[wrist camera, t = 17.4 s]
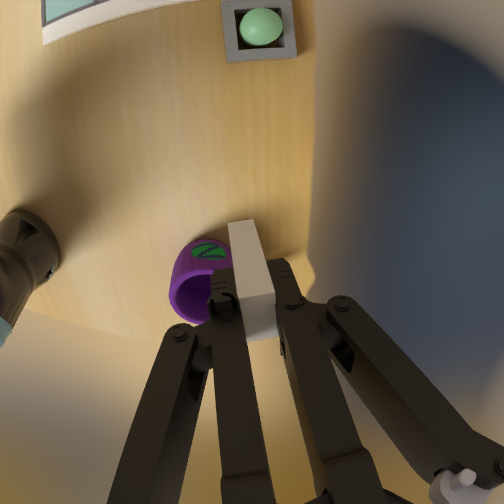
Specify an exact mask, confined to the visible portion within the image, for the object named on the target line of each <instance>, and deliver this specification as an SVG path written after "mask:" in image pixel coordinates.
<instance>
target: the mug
mask: <svg viewBox="0 0 504 504" xmlns="http://www.w3.org/2000/svg"><path fill="white" fill-rule="evenodd" d="M229 267H233V260H232V253H231V250H230V248H228V247H227V246H226V245H225V244H223V243H221V242H218V241H216V240H210V239H203V240H198V241H194V242H192V243H190V244H189V245H187V246H186V247H185V248H184V249H183V250H182V251H181V252H180V254H179V256H178V258H177V260H176V262H175V264H174V268H173V272H172V277H171V283H170V290H169V300H170V304H171V305H172V307H173V309H174V311H175V312H176V313H177V314H178V315H179V316H180V317H182V318H183V319H185V320H187V321H189V322H192V323H195V324H202V323H204V322H205V321H207V320H208V319H209V317H210V315H209V311H208V308H207V304H206V303H207V299H208V298H209V297H210V296H211V275H212V273H213V271H214V270H216V269H222V268H229Z"/></svg>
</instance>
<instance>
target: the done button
mask: <svg viewBox="0 0 504 504" xmlns="http://www.w3.org/2000/svg"><path fill="white" fill-rule="evenodd" d="M282 29H283V24H282V20H281V18H280V17H279V15H278V14H277V13H275V12H274V11H272V10H270V9H267V8H256V9H253V10H251V11H249V12H248V13H247V14H246V15H245V16H244V17H243V19H242V21H241V23H240V25H239V29H238V32H239V36H240V38H241V40H242V41H243V42H244V43H246V44H247V45H249V46H253V47H262V46H265V45H267V44H269V43H271V42H272V41H274V40H276V39H277V38H278V37H279V36H280V34H281V32H282Z"/></svg>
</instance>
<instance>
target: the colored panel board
mask: <svg viewBox="0 0 504 504" xmlns="http://www.w3.org/2000/svg"><path fill="white" fill-rule="evenodd" d="M192 1H199V0H41V19H42V36H43V46H47V45H49V44H51V43H53V42H56V41H58V40H60V39H63V38H65V37H67V36H70V35H72V34H75V33H77V32H80V31H82V30H85V29H88V28H90V27H93V26H96V25H99V24H102V23H105V22H108V21H111V20H114V19H117V18H121V17H124V16H128V15H131V14H135V13H139V12H143V11H147V10H151V9H155V8H160V7H165V6H170V5H175V4H180V3H186V2H192Z"/></svg>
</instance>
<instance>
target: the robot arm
mask: <svg viewBox="0 0 504 504" xmlns="http://www.w3.org/2000/svg"><path fill="white" fill-rule="evenodd" d="M227 224H228V231H229V239H230V246H231V253H232V260H233V267H229V268H222V269H216V270H214V271H213V273H212V275H211V296H210V297H209V298H208V299H207V303H206V304H207V308H208V311H209V315H210V317H209V319H208V320H207V321H205V322H204V323H202V324H200V325H198V326H195V327H192V326H191V325H190V324H186V323H180V324H176V325H174V326H172V327H171V328H169V329H168V330H167V332H166V333H165V336H164V338H163V341H162V343H161V346H160V349H159V351H158V354H157V356H156V359H155V362H154V365H153V367H152V370H151V372H150V375H149V378H148V380H147V383H146V386H145V388H144V391H143V394H142V397H141V400H140V402H139V405H138V408H137V411H136V414H135V417H134V420H133V422H132V425H131V428H130V431H129V434H128V437H127V440H126V443H125V446H124V449H123V452H122V455H121V458H120V462H119V465H118V468H117V471H116V475H115V477H114V481H113V484H112V487H111V491H110V494H109V497H108V501H107V504H178V503H179V498H180V493H181V488H182V484H183V480H184V475H185V471H186V466H187V462H188V457H189V453H190V449H191V445H192V440H193V436H194V431H195V427H196V422H197V419H198V414H199V410H200V406H201V401H202V397H203V393H204V389H205V385H206V380H207V376H208V371H209V369H211V368H213V373H214V387H215V400H216V411H217V424H218V436H219V446H220V456H221V465H222V478H221V496H222V504H276V499H275V494H274V489H273V485H272V480H271V475H270V469H269V464H268V459H267V453H266V448H265V442H264V437H263V432H262V426H261V421H260V415H259V409H258V403H257V399H256V392H255V386H254V381H253V375H252V369H251V363H250V357H249V351H248V346H247V342H250V341H256V340H261V339H267V338H273V337H278V334H279V338H280V351H281V355H283V359H284V362H285V366H286V370H287V374H288V378H289V382H290V386H291V390H292V394H293V398H294V402H295V406H296V409H297V413H298V417H299V421H300V425H301V429H302V433H303V437H304V441H305V445H306V449H307V453H308V457H309V461H310V465H311V469H312V473H313V478H314V487H315V492H316V496H317V498H315V499H313V500H311V501H309V502H307V503H305V504H413V503H411V502H409V501H407V500H405V499H403V498H402V497H400V496H398V495H396V494H394V493H392V492H391V491H389V490H386V489H383V488H382V485H381V482H380V480H379V476H378V473H377V470H376V468H375V465H374V462H373V459H372V457H371V454H370V452H369V451H368V450H367V449H366V448H364V447H363V446H362V444H361V441H360V439H359V436H358V433H357V430H356V427H355V425H354V422H353V419H352V416H351V413H350V411H349V408H348V405H347V402H346V400H345V397H344V394H343V391H342V389H341V386H340V383H339V381H338V378H337V375H336V372H335V370H334V367H333V364H332V362H331V359H332V360H333V362H334V363H335V365H336V366H337V367H338V368H339V370H340V371H341V373H342V374H343V375H344V377H345V378H346V379H347V381H348V382H349V383H350V385H351V386H352V387H353V389H354V390H355V392H356V393H357V394H358V396H359V397H360V398H361V400H362V401H363V402H364V404H365V405H366V406H367V408H368V409H369V410H370V412H371V413H372V415H373V416H374V417H375V418H376V420H377V421H378V423H379V424H380V425H381V427H382V428H383V429H384V430H385V432H386V433H387V435H388V436H389V437H390V438H391V440H392V441H393V443H394V444H395V445H396V447H397V448H398V449H399V451H400V452H401V454H402V455H403V456H404V457H405V459H406V460H407V462H408V463H409V464H410V466H411V467H412V468H413V469H414V470H415V472H416V473H417V474H418V475H419V476H420V477H421V478H422V479H423V480H425V481H426V482H427V483H429V484H430V488H429V499H430V500H431V501H432V502H433V504H486V502H487V500H488V498H489V496H490V495H491V493H492V491H493V489H494V488H496V487H497V486H499V485H501V484H503V483H504V447H503V446H501V445H499V444H498V443H496V442H494V441H492V440H490V439H488V438H487V437H485V436H483V435H481V434H479V433H477V432H476V431H474V430H472V428H471V427H470V426H469V425H468V424H467V423H466V421H465V420H464V419H463V418H462V417H461V415H460V414H459V413H458V412H457V411H456V410H455V409H454V407H453V406H452V405H451V404H450V403H449V402H448V401H447V400H446V398H445V397H444V396H443V395H442V394H441V393H440V391H439V390H438V389H437V388H436V387H435V386H434V385H433V384H432V383H431V381H430V380H429V379H428V378H427V377H426V376H425V375H424V374H423V373H422V371H420V369H419V368H418V367H417V366H416V365H415V364H414V363H413V362H412V361H411V359H410V358H409V357H408V356H407V355H406V354H405V353H404V352H403V351H402V350H401V349H400V348H399V347H398V345H397V344H396V343H395V342H394V341H393V340H392V339H391V338H390V337H389V336H388V335H387V334H386V333H385V332H384V330H383V329H382V328H381V327H380V326H379V325H378V324H377V323H376V322H375V321H374V320H373V319H372V318H371V317H370V316H369V315H368V314H367V313H366V312H365V311H364V310H363V308H361V306H360V305H359V304H358V303H357V302H356V301H355V300H353V299H352V298H351V297H348V296H342V295H339V296H335V297H332V298H331V299H330V300H329V301H328V302H327V304H318V303H312V302H310V301H308V300H307V299H306V298H305V297H304V296H302V294H301V292H300V289H299V287H298V284H297V282H296V279H295V277H294V274H293V272H292V269H291V267H290V264H289V263H288V262H287V261H286V260H285V259H283V258H279V259H273V260H267V261H266V260H265V257H264V254H263V250H262V247H261V244H260V240H259V237H258V234H257V230H256V227H255V224H254V220H253V219H250V220H243V221H237V222H231V223H227ZM59 261H60V252H59V246H58V243H57V240H56V238H55V236H54V234H53V233H52V231H51V230H50V228H49V227H48V226H47V225H46V223H45V222H44V221H42V220H41V219H40V218H39V217H37V216H36V215H34V214H32V213H30V212H27V211H13V212H11V213H9V214H8V215H7V216H5V217H4V218H3V219H2V220H1V221H0V347H2V345H3V344H4V342H5V341H6V339H7V337H8V336H9V335H10V334H11V333H12V329H13V327H14V325H15V323H16V321H17V319H18V317H19V315H20V313H21V311H22V309H23V308H24V306H25V304H26V302H27V300H28V299H29V297H30V295H31V293H32V292H33V291H34V290H36V289H37V288H38V287H40V286H41V285H43V284H44V283H46V282H47V281H48V280H49V279H50V278H51V277H52V276H53V274H54V273H55V271H56V269H57V267H58V265H59ZM330 358H331V359H330Z"/></svg>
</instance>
